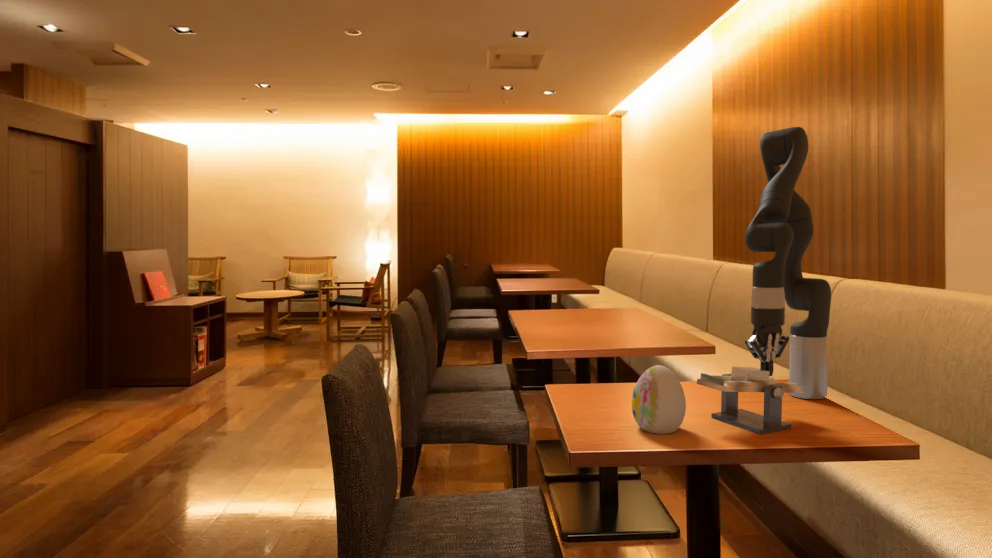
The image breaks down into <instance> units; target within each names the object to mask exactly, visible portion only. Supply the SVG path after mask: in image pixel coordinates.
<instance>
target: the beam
mask: <svg viewBox="0 0 992 558" xmlns="http://www.w3.org/2000/svg"><path fill="white" fill-rule="evenodd" d="M696 384H697V385H699V386H703V387H707V388H709V389H713V390H717V391H721V392H722V391H724V392H738V393H763V394H764V386H765V385H772V384H779V385H782V389H783V391H784V393H785V394H789V393H803V389H804V388H801V387H798V383H789V382H779V381H776V380H775V379H774V377H773V376H769V382H737V381H731V376H722V375H714V374H713V375H711V374H707V373H704V372H703V373H702V372H701V373H700V378H697V379H696Z"/></svg>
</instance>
